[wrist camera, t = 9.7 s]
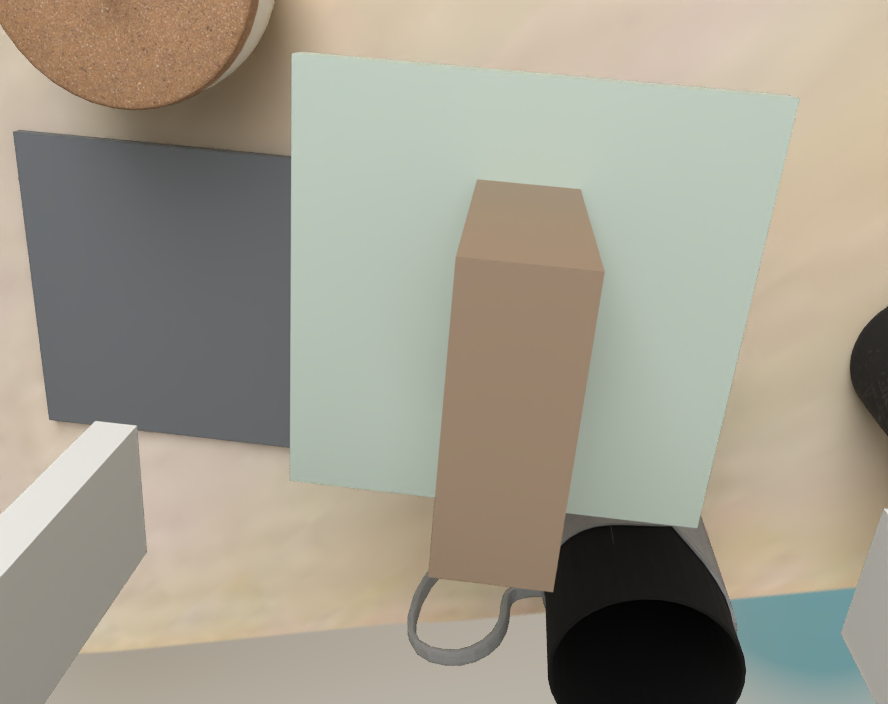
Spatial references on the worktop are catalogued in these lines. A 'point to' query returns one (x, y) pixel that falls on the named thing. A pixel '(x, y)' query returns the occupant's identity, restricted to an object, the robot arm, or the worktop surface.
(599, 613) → the glass holder
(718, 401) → the board
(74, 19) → the lidded jar
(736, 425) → the worktop surface
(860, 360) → the travel mug
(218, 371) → the square tray
